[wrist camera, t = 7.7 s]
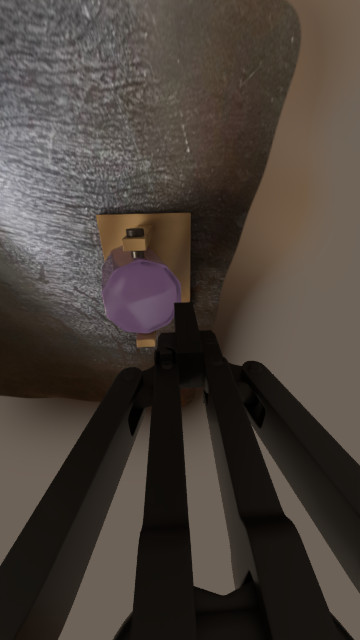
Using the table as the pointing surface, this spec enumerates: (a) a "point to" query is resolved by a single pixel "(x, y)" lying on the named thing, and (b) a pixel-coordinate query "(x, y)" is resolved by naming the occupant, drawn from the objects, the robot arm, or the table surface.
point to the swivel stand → (151, 245)
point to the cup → (138, 290)
